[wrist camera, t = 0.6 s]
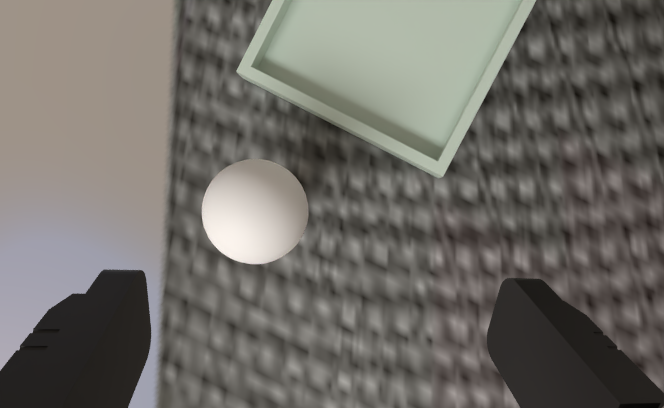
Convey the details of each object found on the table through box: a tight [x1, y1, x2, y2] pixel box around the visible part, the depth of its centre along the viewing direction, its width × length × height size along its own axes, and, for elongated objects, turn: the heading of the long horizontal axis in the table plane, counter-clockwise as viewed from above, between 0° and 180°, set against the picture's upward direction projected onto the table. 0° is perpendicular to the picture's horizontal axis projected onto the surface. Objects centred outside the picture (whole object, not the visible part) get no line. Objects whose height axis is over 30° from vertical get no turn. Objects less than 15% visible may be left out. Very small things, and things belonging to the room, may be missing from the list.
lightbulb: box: [202, 159, 308, 264], centre depth 28 cm, size 6×6×11 cm
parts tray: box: [236, 0, 536, 178], centre depth 32 cm, size 17×17×2 cm
